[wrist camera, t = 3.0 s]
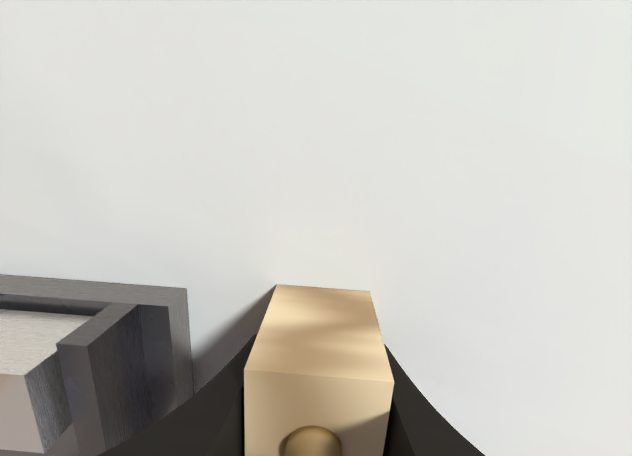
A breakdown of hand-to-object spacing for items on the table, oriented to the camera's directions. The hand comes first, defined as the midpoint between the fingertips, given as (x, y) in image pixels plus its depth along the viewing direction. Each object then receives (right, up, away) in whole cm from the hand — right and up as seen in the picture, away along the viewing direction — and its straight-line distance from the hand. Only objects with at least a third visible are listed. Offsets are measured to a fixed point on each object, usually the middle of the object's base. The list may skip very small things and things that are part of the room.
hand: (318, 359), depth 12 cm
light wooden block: (0, 0, +1) cm, 1 cm away
